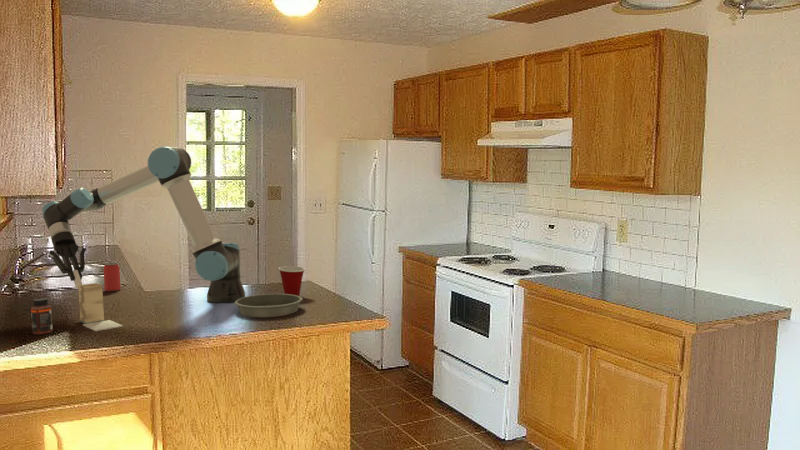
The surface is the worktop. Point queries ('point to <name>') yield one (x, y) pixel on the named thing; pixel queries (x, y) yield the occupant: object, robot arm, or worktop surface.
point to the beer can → (111, 277)
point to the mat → (102, 325)
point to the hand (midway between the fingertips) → (79, 286)
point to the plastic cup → (291, 279)
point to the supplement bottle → (41, 317)
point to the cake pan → (259, 308)
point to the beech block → (91, 303)
